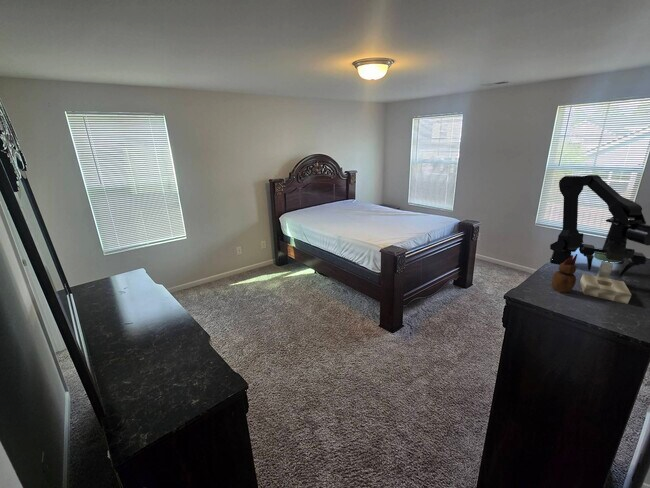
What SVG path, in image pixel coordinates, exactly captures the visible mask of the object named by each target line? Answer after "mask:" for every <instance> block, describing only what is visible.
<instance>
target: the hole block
mask: <svg viewBox="0 0 650 488" xmlns="http://www.w3.org/2000/svg"><path fill="white" fill-rule="evenodd" d="M579 283H580V286H581V289H582V293H583V295H586V296H590V297H595V298H600V299H604V300H609V301H613V302H617V303H621V304H627V305H628V304H629V301H630V300H631V298H632V293H631V292H630V289H629V288H628V287H627V285H626V283H625V281H623V280H617V279H612V278H609V279H608V278H603V277H598V276H597V275H592V274H587V273H582V276H581V278H580V282H579Z"/></svg>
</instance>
